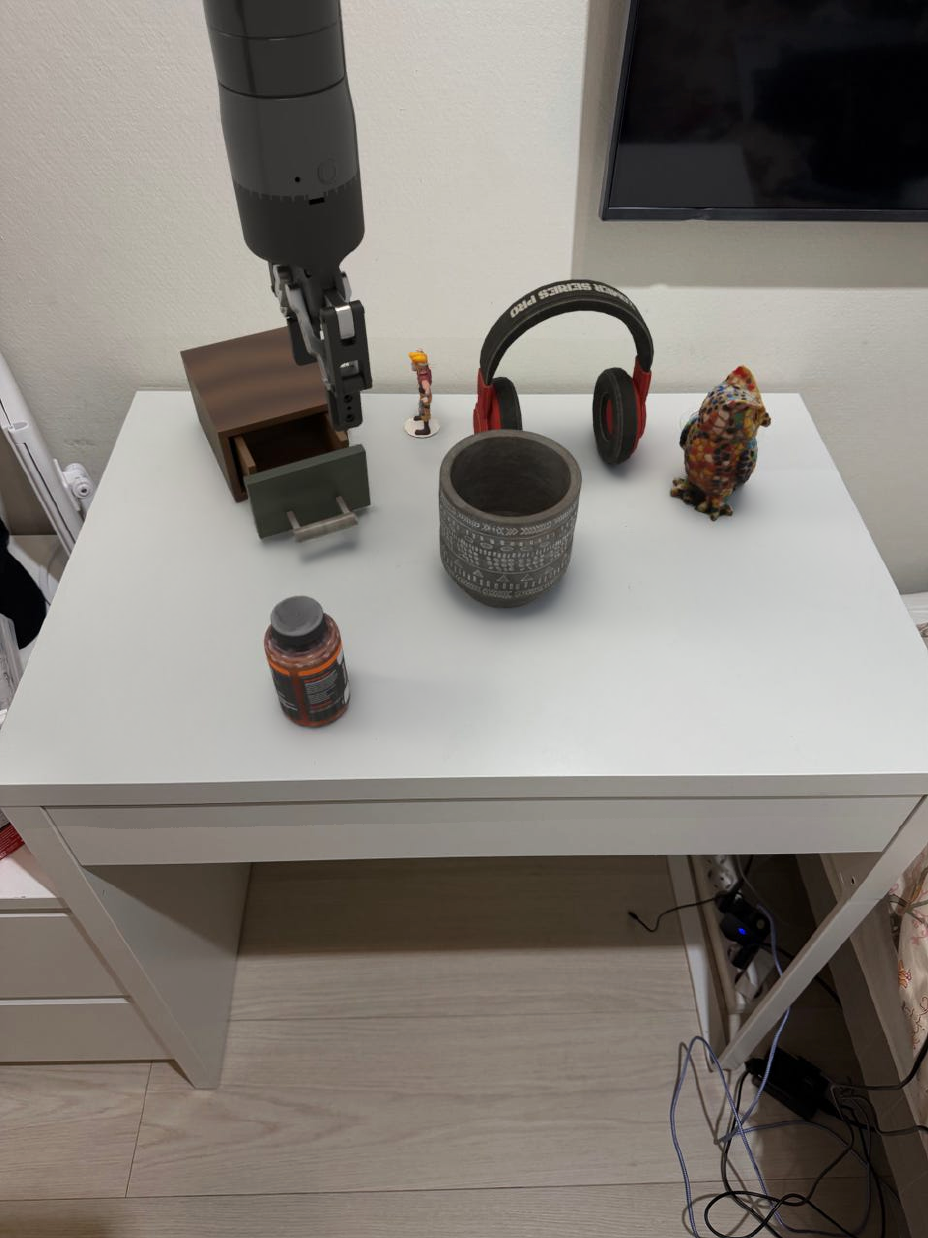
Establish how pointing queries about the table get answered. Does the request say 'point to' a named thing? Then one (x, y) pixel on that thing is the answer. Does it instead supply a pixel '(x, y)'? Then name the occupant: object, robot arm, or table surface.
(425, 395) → the action figure
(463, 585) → the planter
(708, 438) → the figurine
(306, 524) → the drawer
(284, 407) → the cabinet
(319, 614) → the supplement bottle
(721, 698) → the table surface
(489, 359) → the headphones
